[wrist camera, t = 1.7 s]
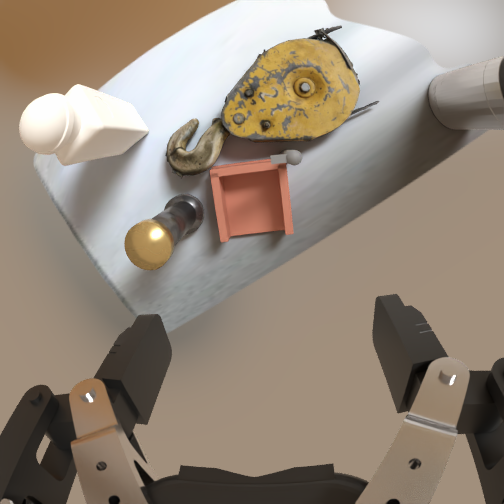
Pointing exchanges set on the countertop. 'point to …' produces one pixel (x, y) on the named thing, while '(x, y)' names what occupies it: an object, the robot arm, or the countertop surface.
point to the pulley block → (277, 101)
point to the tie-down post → (163, 232)
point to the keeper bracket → (253, 195)
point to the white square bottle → (80, 125)
